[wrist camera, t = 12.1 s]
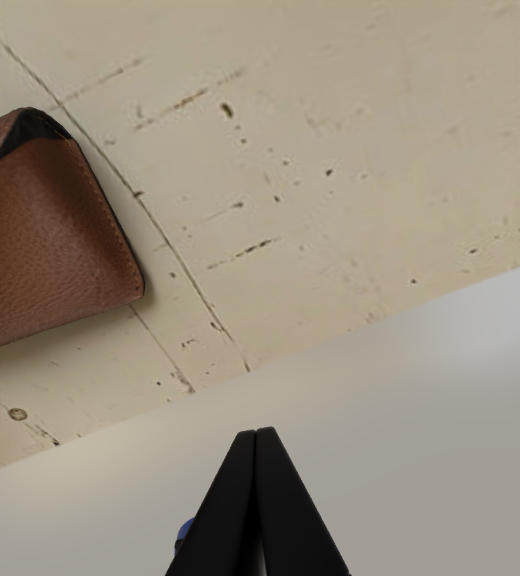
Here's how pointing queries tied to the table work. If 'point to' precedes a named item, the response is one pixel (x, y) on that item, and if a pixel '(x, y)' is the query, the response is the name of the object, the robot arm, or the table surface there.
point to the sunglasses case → (55, 232)
